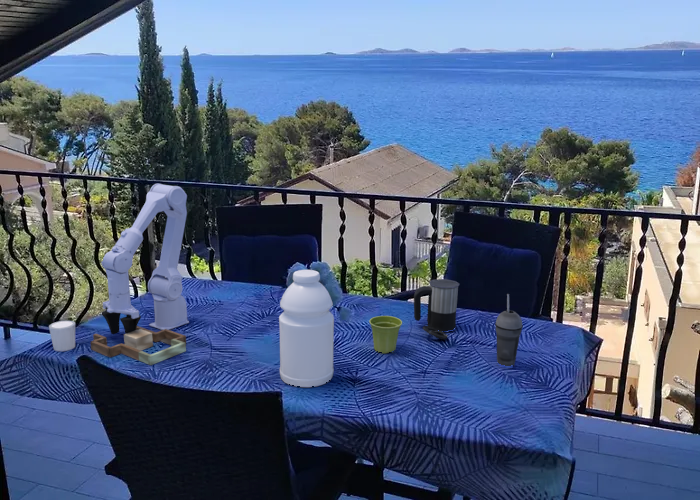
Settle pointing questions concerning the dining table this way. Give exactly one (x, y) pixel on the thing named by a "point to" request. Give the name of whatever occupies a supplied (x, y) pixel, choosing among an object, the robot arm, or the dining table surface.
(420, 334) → the dining table surface
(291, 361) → the bottle
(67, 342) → the white tapered cup
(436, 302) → the milk frother
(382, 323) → the plant pot
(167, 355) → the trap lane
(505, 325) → the beverage cup
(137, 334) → the oak block
